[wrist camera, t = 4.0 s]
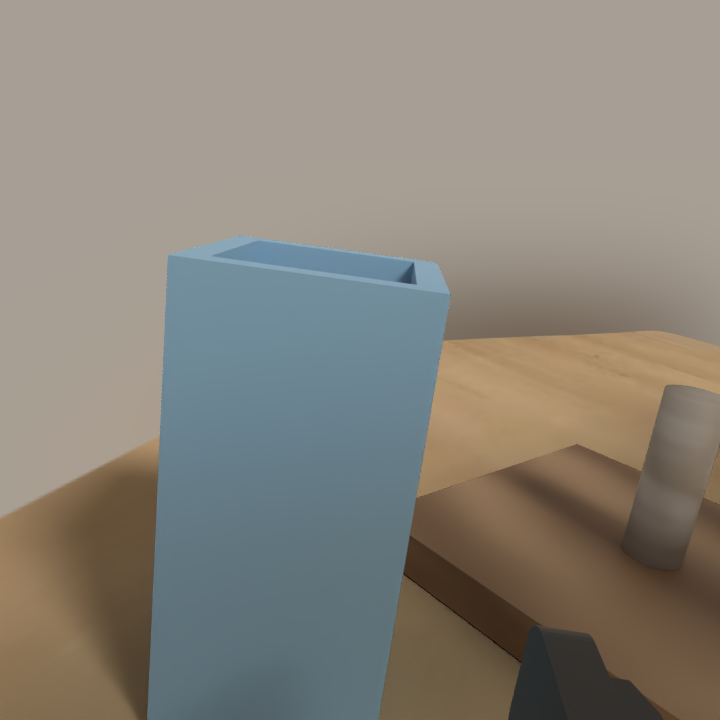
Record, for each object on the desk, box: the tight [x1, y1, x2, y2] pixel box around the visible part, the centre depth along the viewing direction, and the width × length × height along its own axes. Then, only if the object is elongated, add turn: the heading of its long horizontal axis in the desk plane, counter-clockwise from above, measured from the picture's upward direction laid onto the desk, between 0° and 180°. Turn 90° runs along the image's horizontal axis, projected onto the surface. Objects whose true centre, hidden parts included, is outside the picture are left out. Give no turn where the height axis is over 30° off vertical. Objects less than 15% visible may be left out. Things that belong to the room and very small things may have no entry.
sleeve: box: [147, 236, 450, 720], centre depth 15 cm, size 5×5×11 cm
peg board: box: [403, 385, 720, 720], centre depth 21 cm, size 14×14×8 cm
